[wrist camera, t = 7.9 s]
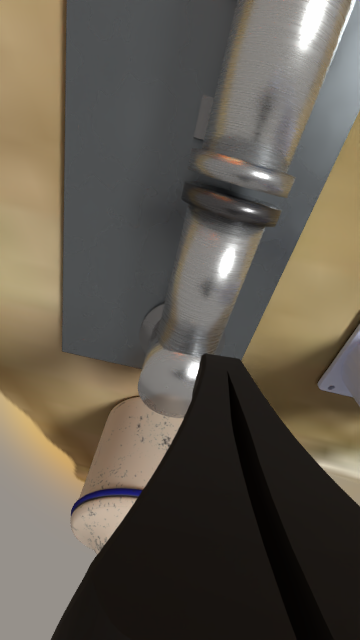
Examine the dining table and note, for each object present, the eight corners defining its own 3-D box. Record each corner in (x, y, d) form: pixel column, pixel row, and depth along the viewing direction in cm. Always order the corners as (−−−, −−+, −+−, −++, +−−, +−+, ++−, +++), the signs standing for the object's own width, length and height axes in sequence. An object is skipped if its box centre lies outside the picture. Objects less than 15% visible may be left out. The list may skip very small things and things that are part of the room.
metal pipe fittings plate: (227, 383, 23) (235, 445, 18) (65, 346, 22) (25, 402, 17) (439, -74, 10) (675, -303, 5) (76, -213, 9) (-71, -666, 4)
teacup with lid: (120, 454, 29) (80, 605, 19) (93, 395, 25) (23, 553, 15) (229, 449, 28) (247, 610, 18) (222, 386, 23) (241, 555, 13)
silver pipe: (203, 368, 21) (204, 424, 17) (146, 356, 21) (132, 409, 16) (267, 200, 15) (297, 217, 10) (187, 178, 14) (181, 185, 10)
